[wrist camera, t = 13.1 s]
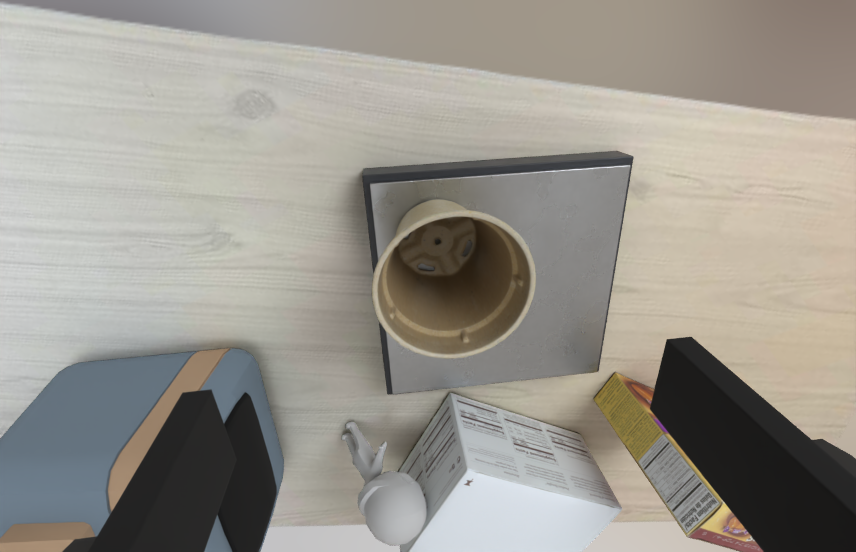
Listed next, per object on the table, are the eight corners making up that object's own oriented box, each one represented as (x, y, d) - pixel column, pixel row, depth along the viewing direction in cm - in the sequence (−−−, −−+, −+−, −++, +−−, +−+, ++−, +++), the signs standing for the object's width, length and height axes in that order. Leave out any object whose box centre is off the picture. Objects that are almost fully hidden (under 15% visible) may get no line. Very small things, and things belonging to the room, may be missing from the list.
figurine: (338, 403, 40) (397, 517, 31) (386, 394, 43) (452, 495, 35) (319, 462, 43) (369, 580, 35) (366, 450, 46) (421, 555, 38)
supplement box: (393, 476, 47) (397, 565, 38) (449, 389, 42) (466, 468, 34) (520, 508, 51) (548, 593, 43) (582, 433, 47) (626, 511, 38)
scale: (363, 168, 32) (361, 177, 29) (617, 150, 33) (638, 157, 31) (386, 377, 41) (387, 399, 38) (587, 356, 42) (601, 376, 39)
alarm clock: (292, 465, 44) (251, 652, 30) (129, 485, 43) (6, 689, 29) (257, 336, 37) (183, 500, 23) (60, 354, 36) (-148, 540, 22)
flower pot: (364, 181, 29) (360, 221, 22) (498, 168, 30) (540, 202, 22) (381, 299, 33) (382, 368, 26) (498, 285, 34) (533, 348, 26)
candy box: (677, 394, 46) (805, 531, 32) (652, 422, 47) (764, 564, 34) (615, 368, 43) (726, 505, 30) (590, 398, 45) (685, 542, 31)
